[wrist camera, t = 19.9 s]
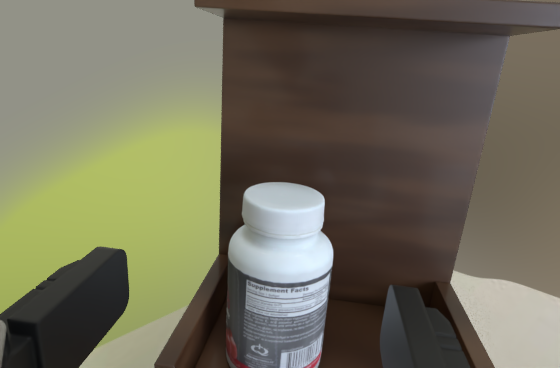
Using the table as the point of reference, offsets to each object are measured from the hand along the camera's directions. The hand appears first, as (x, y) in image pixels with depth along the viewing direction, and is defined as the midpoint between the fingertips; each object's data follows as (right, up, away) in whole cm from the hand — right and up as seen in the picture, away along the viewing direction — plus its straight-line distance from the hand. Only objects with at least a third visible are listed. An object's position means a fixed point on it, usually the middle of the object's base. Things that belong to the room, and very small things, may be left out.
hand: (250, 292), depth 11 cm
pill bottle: (0, -7, +10) cm, 12 cm away
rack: (+3, -15, +14) cm, 21 cm away
